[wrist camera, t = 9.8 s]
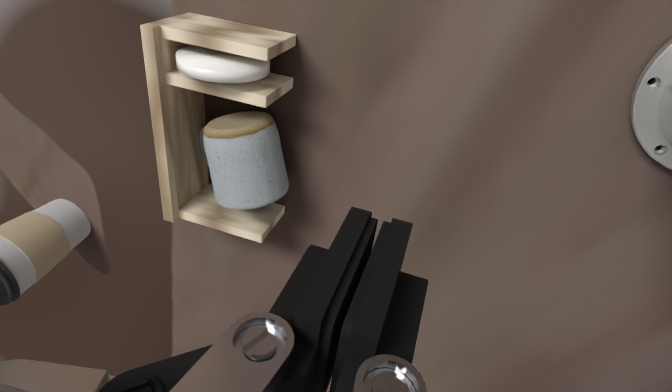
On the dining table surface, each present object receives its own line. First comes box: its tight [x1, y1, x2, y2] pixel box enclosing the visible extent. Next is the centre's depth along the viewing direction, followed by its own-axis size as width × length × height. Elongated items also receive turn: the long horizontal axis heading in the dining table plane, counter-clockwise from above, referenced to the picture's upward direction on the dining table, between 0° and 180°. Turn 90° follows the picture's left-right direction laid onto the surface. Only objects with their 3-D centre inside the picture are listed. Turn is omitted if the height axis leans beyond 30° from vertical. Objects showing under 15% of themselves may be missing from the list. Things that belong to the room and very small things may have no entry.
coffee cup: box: [0, 199, 91, 305], centre depth 57 cm, size 9×9×15 cm
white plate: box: [176, 45, 270, 83], centre depth 38 cm, size 8×1×8 cm, turn 83°
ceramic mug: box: [200, 111, 289, 210], centre depth 44 cm, size 11×8×8 cm
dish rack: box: [140, 13, 296, 243], centre depth 43 cm, size 11×20×7 cm, turn 173°
